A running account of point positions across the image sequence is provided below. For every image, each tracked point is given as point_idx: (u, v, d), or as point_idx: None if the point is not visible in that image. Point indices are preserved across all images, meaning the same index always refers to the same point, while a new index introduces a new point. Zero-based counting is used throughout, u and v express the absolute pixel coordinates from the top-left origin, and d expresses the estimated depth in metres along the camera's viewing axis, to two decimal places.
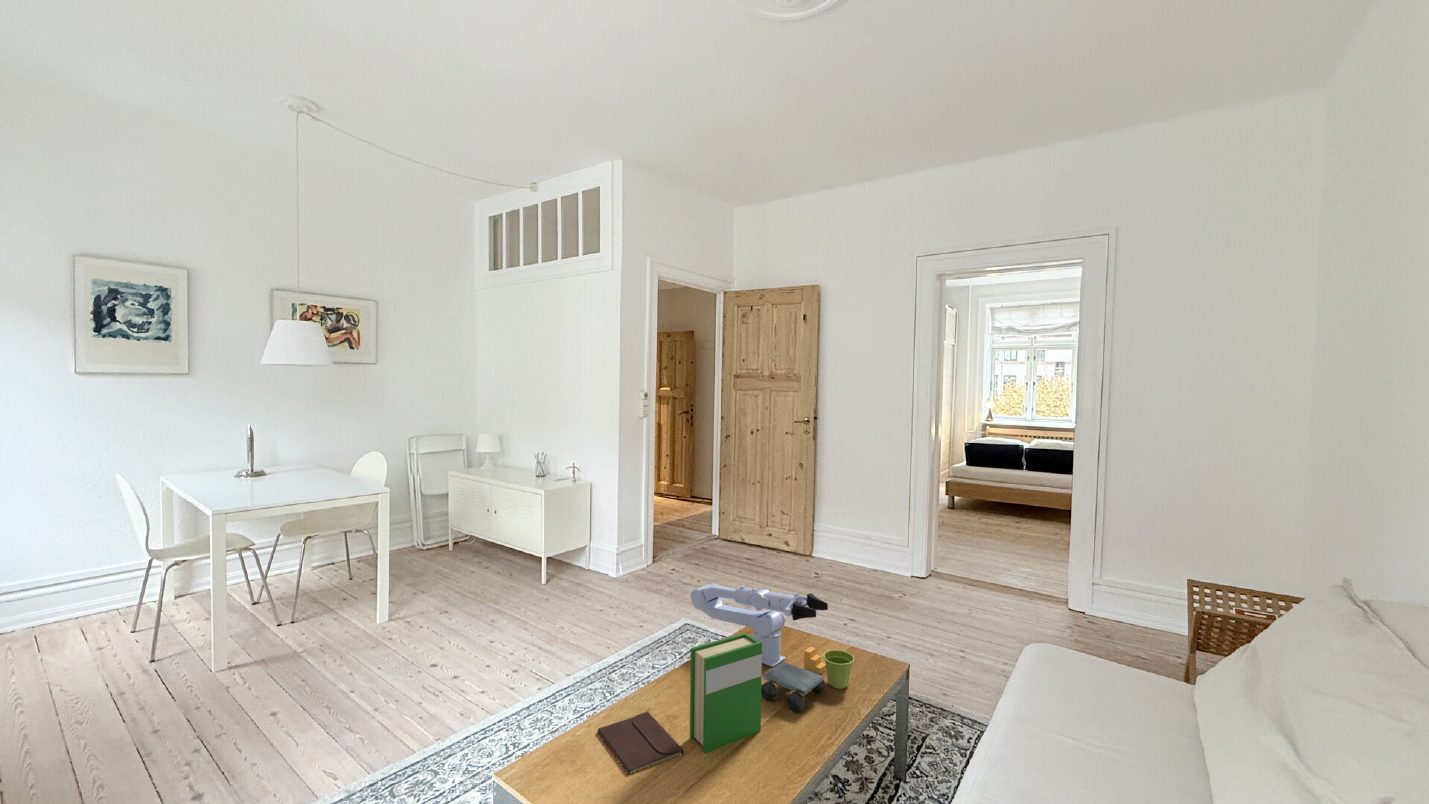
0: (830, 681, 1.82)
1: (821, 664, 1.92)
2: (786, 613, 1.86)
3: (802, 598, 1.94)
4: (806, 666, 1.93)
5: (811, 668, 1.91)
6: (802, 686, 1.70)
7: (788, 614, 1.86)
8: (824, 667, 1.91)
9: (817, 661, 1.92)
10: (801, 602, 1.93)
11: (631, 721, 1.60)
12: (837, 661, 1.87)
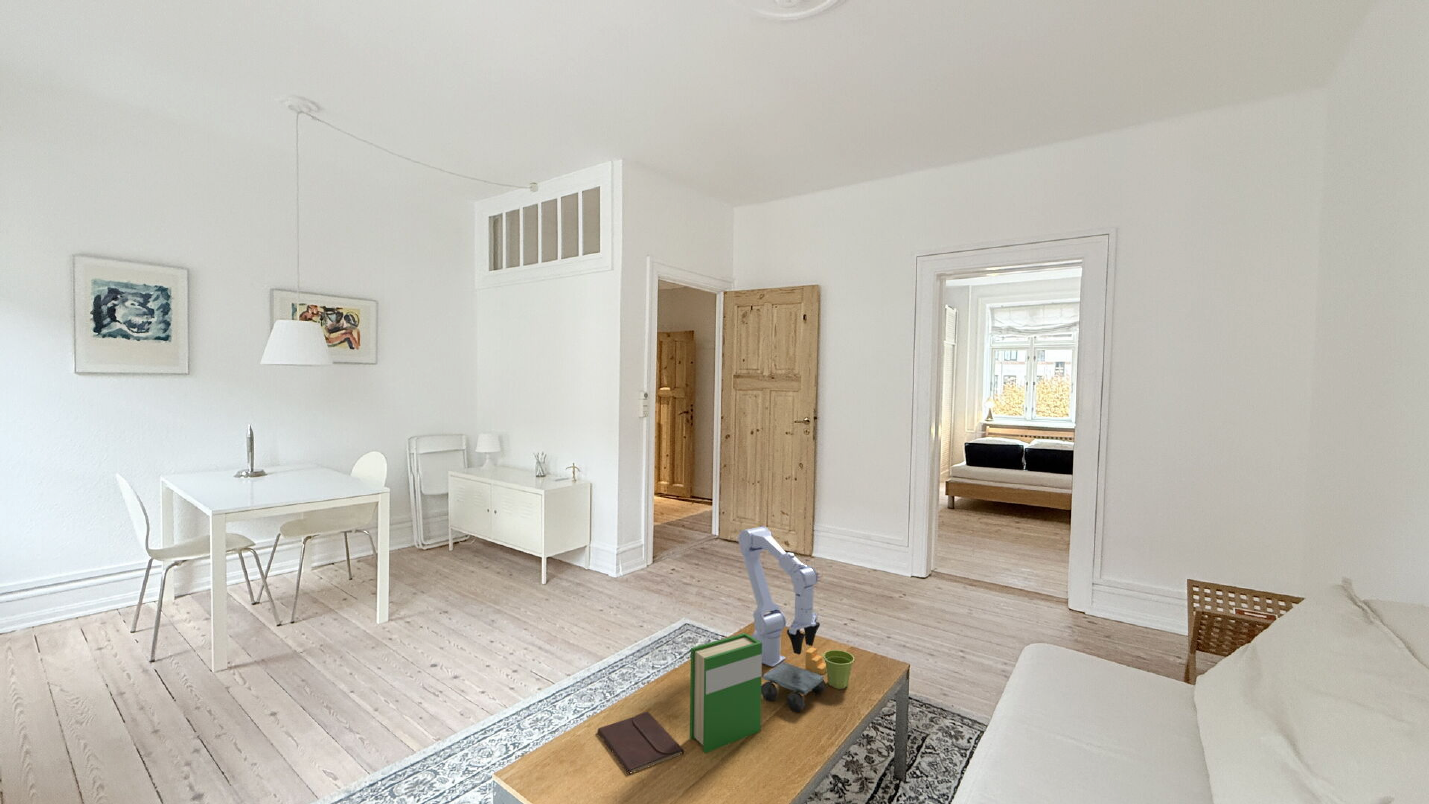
0: (830, 681, 1.82)
1: (822, 664, 1.92)
2: (791, 629, 1.81)
3: None
4: (807, 666, 1.92)
5: (812, 668, 1.91)
6: (802, 686, 1.70)
7: (790, 631, 1.81)
8: (825, 667, 1.91)
9: (818, 661, 1.91)
10: None
11: (631, 721, 1.60)
12: (837, 661, 1.87)
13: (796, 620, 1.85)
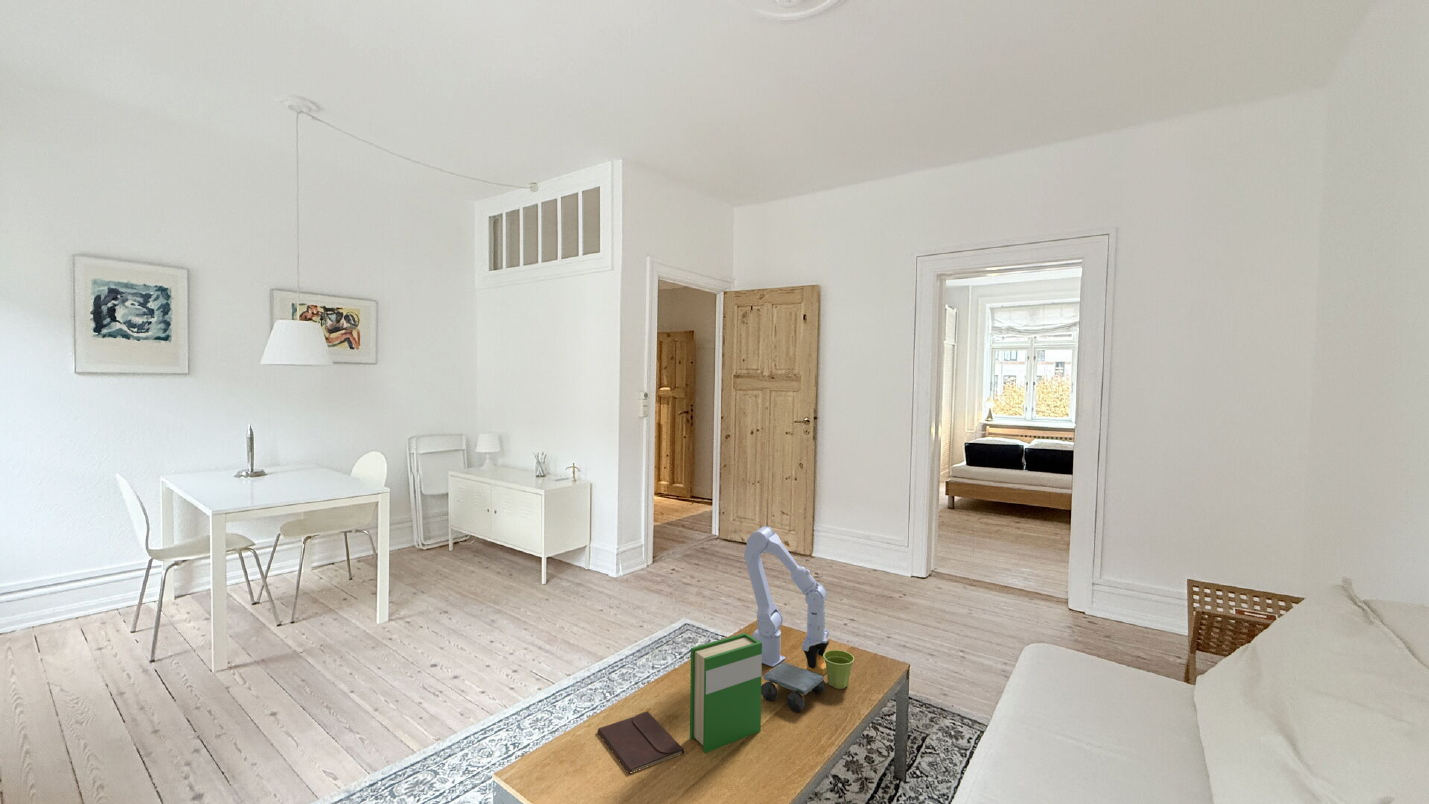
0: (830, 681, 1.82)
1: (824, 665, 1.92)
2: (803, 646, 1.87)
3: None
4: (809, 667, 1.92)
5: (814, 668, 1.91)
6: (802, 686, 1.70)
7: (803, 648, 1.87)
8: None
9: (820, 662, 1.91)
10: None
11: (631, 721, 1.60)
12: (837, 661, 1.87)
13: (808, 637, 1.91)
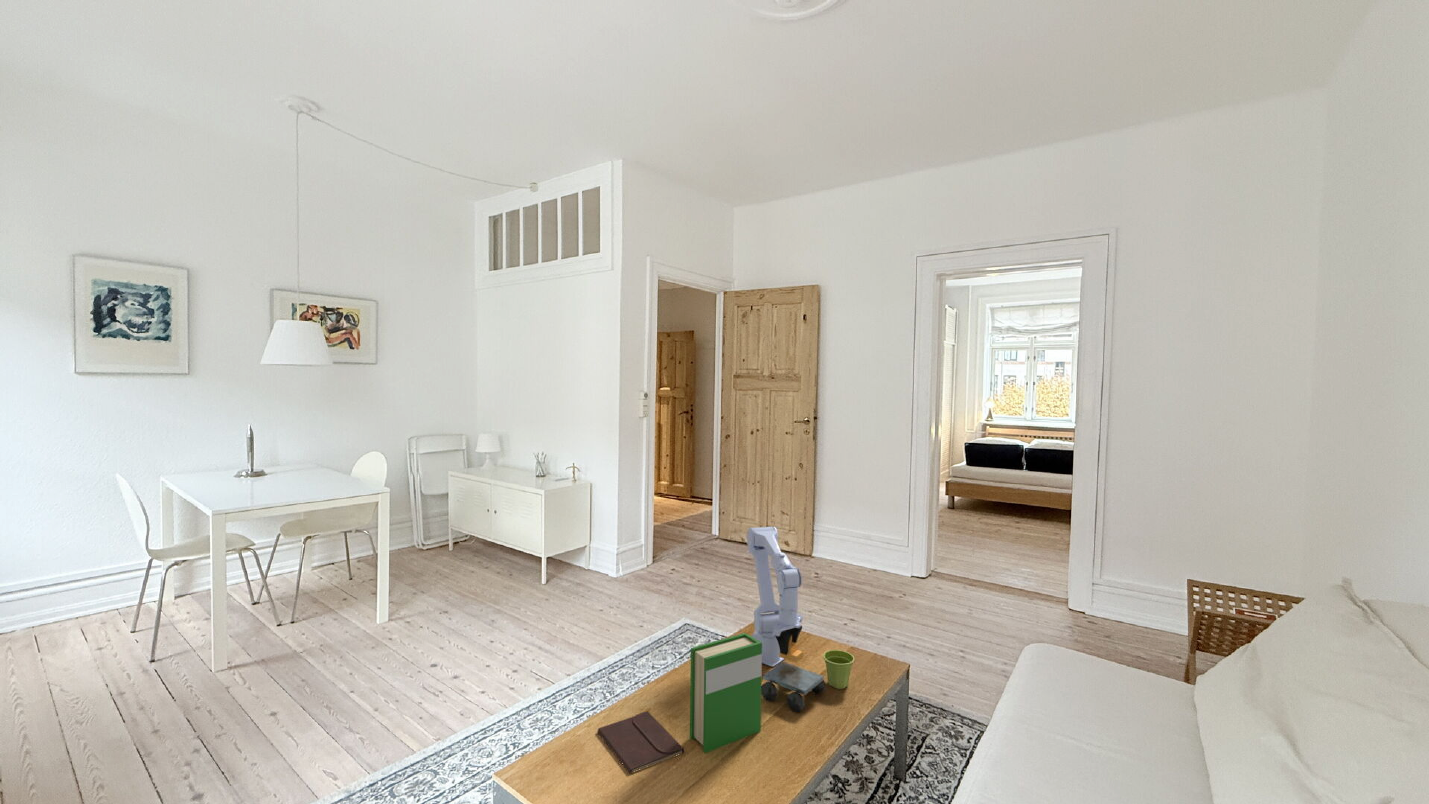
0: (830, 681, 1.82)
1: (797, 652, 1.82)
2: (774, 631, 1.78)
3: None
4: (781, 654, 1.83)
5: (786, 655, 1.82)
6: (802, 686, 1.70)
7: (774, 633, 1.78)
8: (800, 655, 1.82)
9: (793, 649, 1.82)
10: None
11: (631, 721, 1.60)
12: (837, 661, 1.87)
13: (780, 622, 1.82)
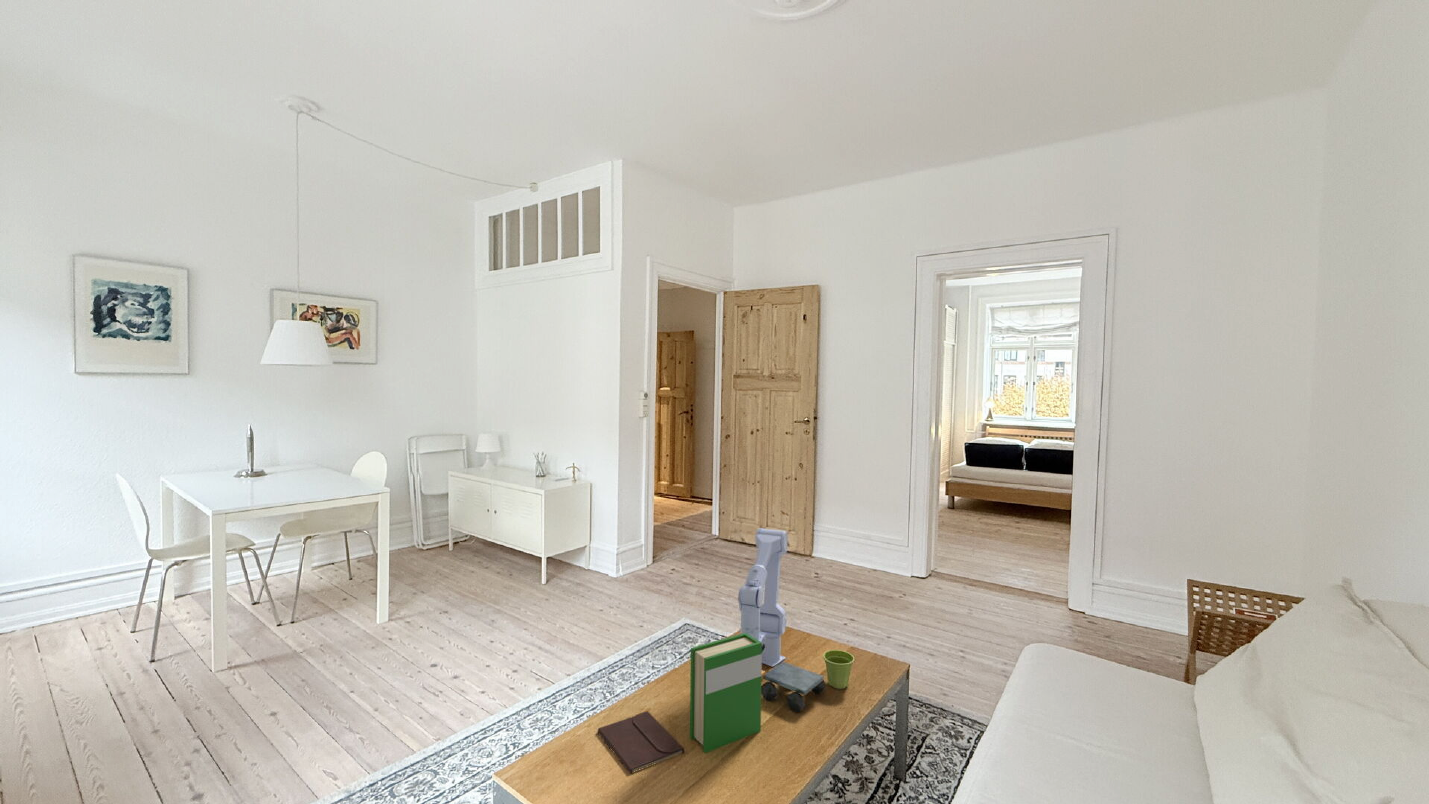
0: (830, 681, 1.82)
1: None
2: None
3: None
4: None
5: None
6: (802, 686, 1.70)
7: None
8: (762, 675, 1.76)
9: None
10: None
11: (631, 721, 1.60)
12: (837, 661, 1.87)
13: None
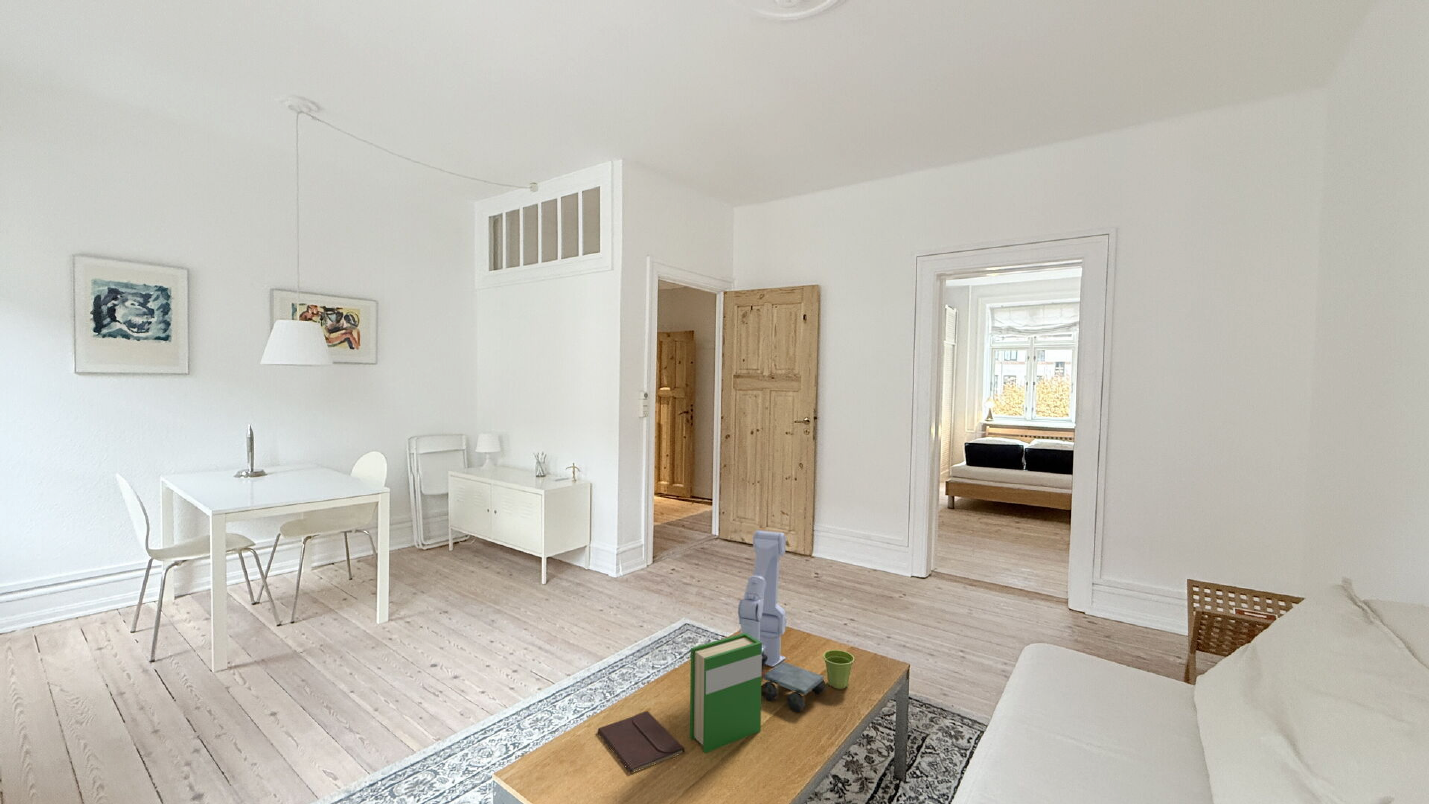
0: (830, 681, 1.82)
1: None
2: None
3: None
4: None
5: None
6: (802, 686, 1.70)
7: None
8: None
9: None
10: None
11: (631, 721, 1.60)
12: (837, 661, 1.87)
13: None
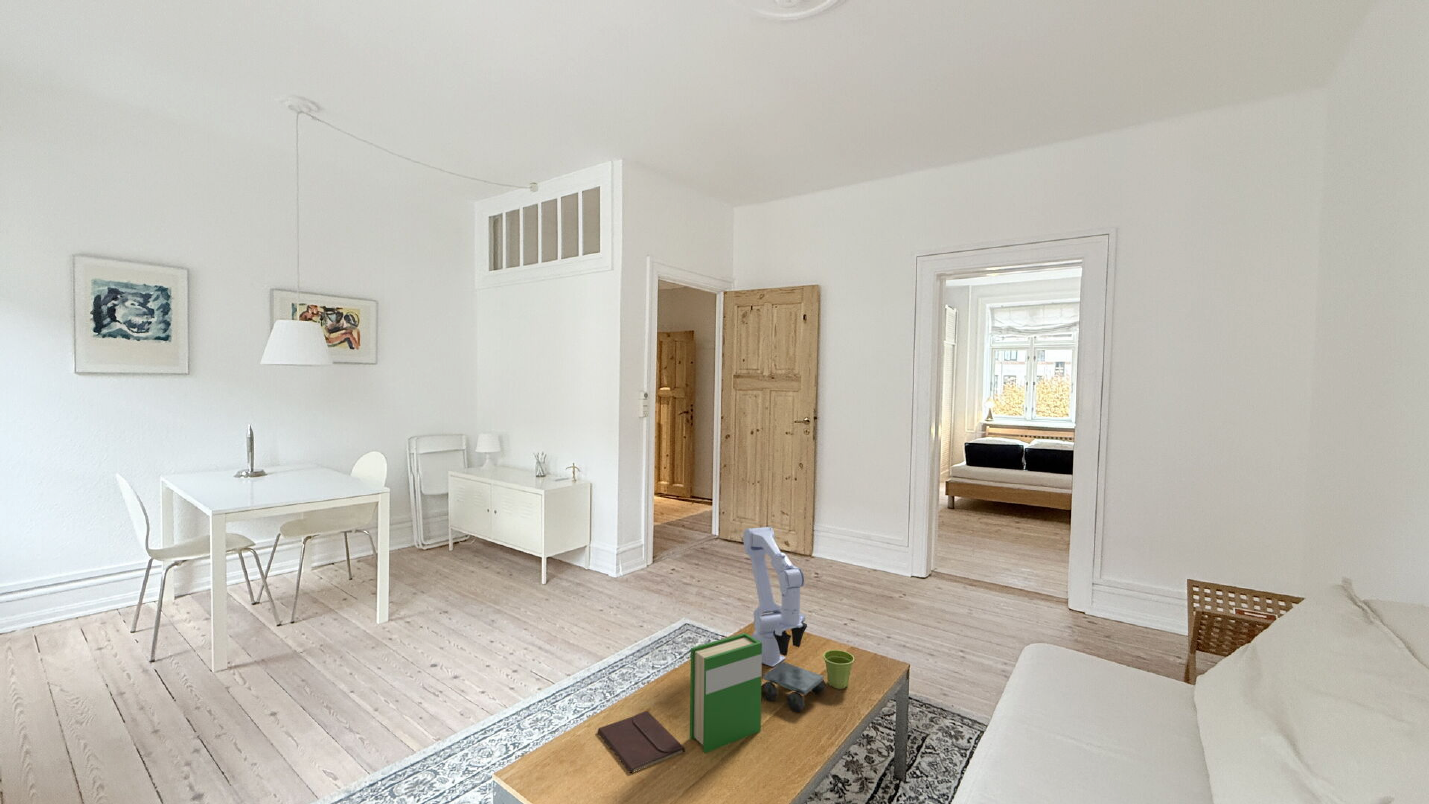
0: (830, 681, 1.82)
1: None
2: (776, 630, 1.80)
3: None
4: None
5: None
6: (802, 686, 1.70)
7: (776, 633, 1.80)
8: None
9: None
10: None
11: (631, 721, 1.60)
12: (837, 661, 1.87)
13: (782, 621, 1.84)
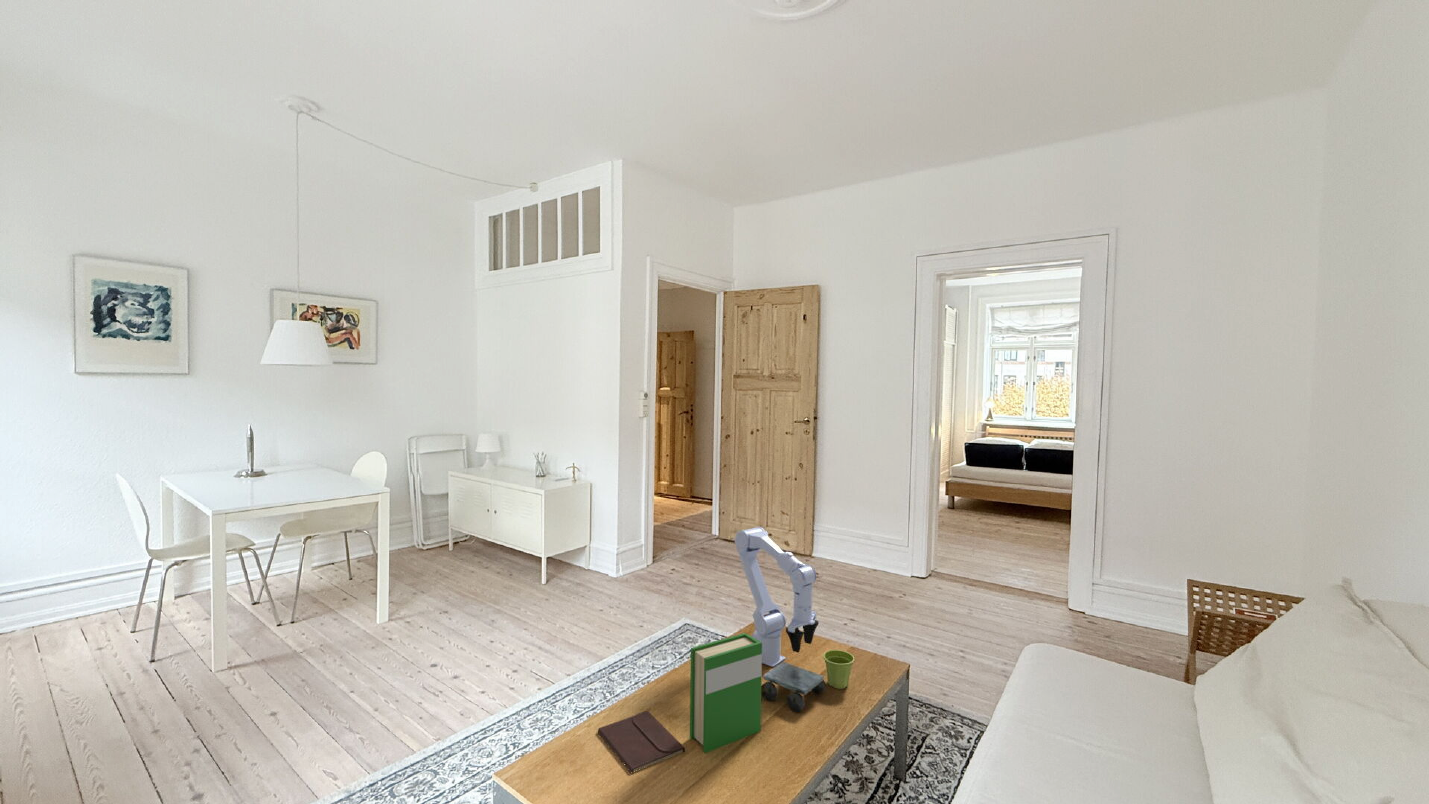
0: (830, 681, 1.82)
1: None
2: (789, 627, 1.82)
3: None
4: None
5: None
6: (802, 686, 1.70)
7: (789, 630, 1.82)
8: None
9: None
10: None
11: (631, 721, 1.60)
12: (837, 661, 1.87)
13: (795, 618, 1.86)
